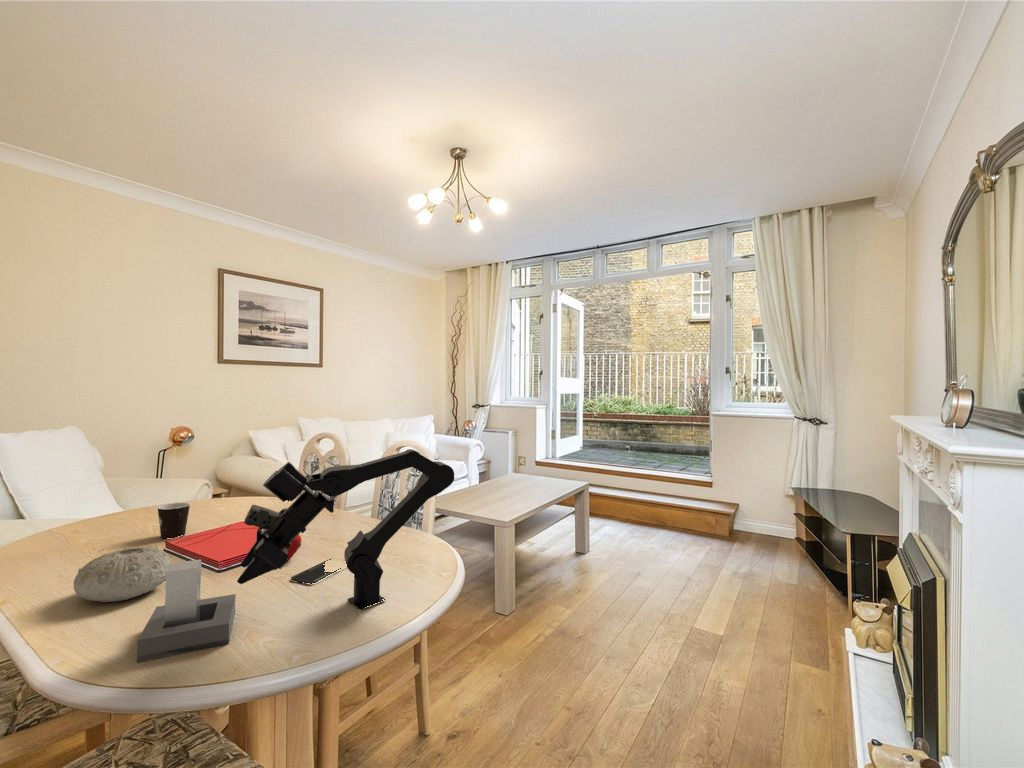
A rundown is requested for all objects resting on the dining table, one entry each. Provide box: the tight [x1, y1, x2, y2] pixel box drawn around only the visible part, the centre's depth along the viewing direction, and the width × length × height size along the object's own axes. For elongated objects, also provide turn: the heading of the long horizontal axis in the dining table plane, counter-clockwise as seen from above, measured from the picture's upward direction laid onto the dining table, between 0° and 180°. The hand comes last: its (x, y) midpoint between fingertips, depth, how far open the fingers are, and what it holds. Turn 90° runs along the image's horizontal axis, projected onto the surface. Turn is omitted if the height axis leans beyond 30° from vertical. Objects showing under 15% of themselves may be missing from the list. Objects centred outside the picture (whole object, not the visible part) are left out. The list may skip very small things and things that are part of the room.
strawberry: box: [285, 533, 302, 560], centre depth 132 cm, size 6×8×10 cm
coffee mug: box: [157, 502, 191, 540], centre depth 149 cm, size 12×9×10 cm
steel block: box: [164, 558, 202, 628], centre depth 90 cm, size 5×5×13 cm
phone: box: [290, 558, 341, 584], centre depth 123 cm, size 8×1×15 cm
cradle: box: [136, 593, 237, 663], centre depth 90 cm, size 14×14×4 cm
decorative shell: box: [73, 545, 172, 603], centre depth 108 cm, size 18×18×10 cm
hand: (240, 574), depth 95 cm, fingers open, 9 cm apart
